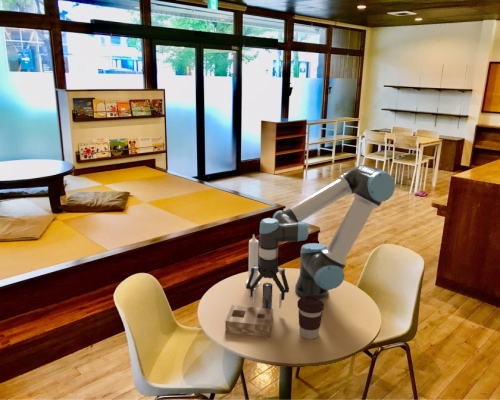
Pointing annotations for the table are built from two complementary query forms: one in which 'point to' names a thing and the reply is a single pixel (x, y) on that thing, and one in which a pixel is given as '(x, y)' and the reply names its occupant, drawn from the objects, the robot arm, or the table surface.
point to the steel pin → (267, 296)
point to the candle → (253, 259)
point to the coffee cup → (310, 316)
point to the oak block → (249, 320)
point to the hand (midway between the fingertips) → (267, 304)
